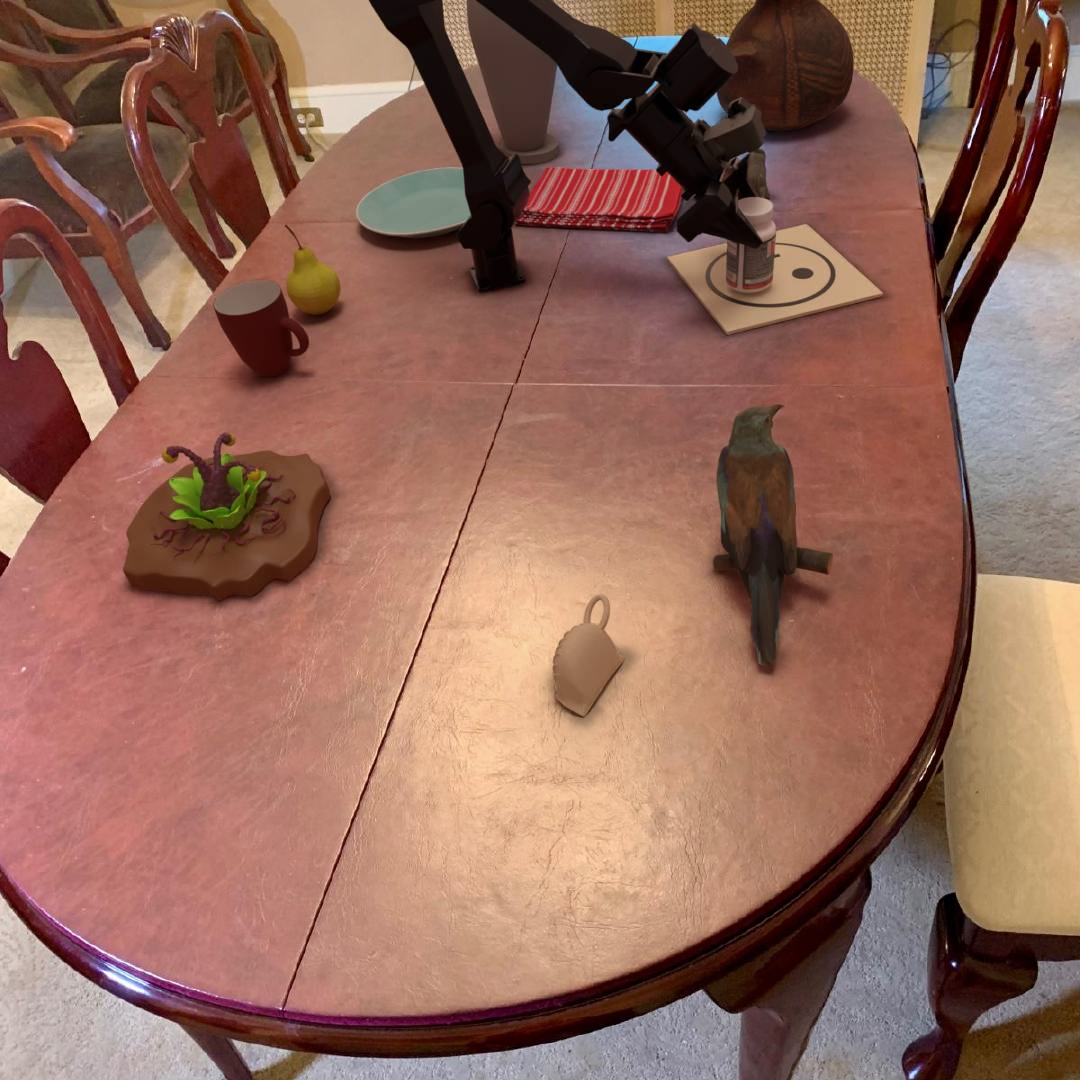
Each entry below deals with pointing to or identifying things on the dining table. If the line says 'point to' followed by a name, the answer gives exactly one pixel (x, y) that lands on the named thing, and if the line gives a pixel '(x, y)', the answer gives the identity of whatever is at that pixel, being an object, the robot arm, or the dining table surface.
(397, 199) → the plate
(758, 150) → the dog figurine
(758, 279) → the pill bottle
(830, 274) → the board
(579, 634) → the decorative ornament
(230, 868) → the dining table surface
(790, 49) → the jug
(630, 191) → the dish towel
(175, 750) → the dining table surface
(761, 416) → the bird figurine
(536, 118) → the vase
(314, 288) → the fruit
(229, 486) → the plant
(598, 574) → the dining table surface
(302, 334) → the mug
